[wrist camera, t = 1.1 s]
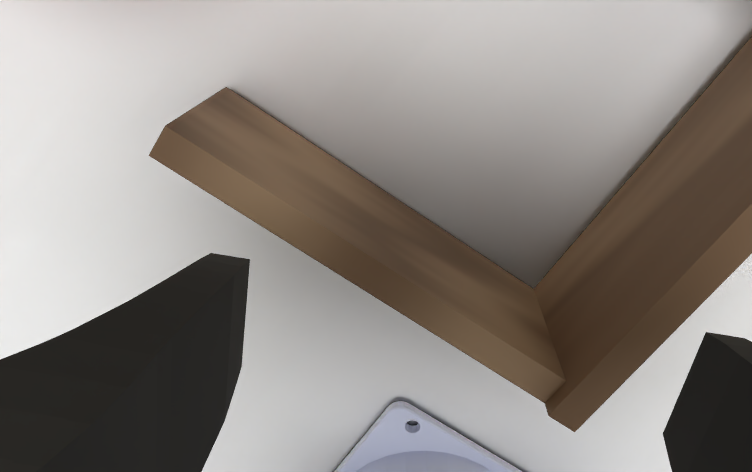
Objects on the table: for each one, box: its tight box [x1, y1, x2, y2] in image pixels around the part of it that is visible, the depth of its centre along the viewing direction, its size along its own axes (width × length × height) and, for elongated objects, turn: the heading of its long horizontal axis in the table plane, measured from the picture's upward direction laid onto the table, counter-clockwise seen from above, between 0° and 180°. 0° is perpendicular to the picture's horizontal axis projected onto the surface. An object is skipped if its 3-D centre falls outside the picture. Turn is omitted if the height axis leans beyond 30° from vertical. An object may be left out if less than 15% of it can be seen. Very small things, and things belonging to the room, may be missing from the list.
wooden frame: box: [149, 37, 752, 432], centre depth 16 cm, size 12×13×6 cm
